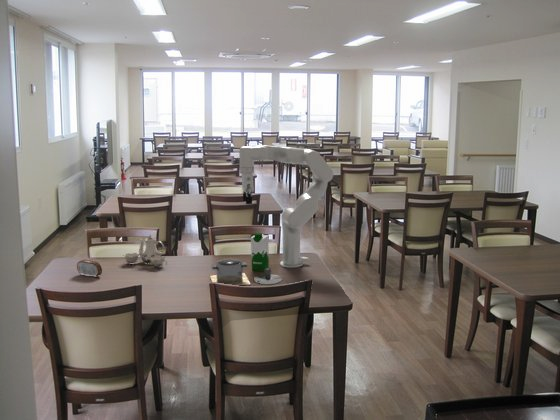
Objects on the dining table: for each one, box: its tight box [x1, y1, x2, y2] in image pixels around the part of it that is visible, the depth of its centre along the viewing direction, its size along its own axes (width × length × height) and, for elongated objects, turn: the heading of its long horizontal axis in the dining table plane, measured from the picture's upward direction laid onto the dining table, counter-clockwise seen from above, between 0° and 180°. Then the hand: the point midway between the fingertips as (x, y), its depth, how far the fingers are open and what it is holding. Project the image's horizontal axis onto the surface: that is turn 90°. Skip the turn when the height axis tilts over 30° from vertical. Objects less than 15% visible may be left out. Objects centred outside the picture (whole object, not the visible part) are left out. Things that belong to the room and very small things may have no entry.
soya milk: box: [250, 232, 270, 272], centre depth 311 cm, size 9×9×20 cm
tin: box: [76, 259, 103, 277], centre depth 302 cm, size 15×3×8 cm, turn 65°
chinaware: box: [122, 234, 168, 269], centre depth 323 cm, size 28×17×17 cm, turn 72°
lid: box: [253, 267, 283, 285], centre depth 293 cm, size 14×14×6 cm
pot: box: [209, 258, 251, 286], centre depth 291 cm, size 18×18×10 cm
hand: (247, 202), depth 307 cm, fingers open, 9 cm apart
